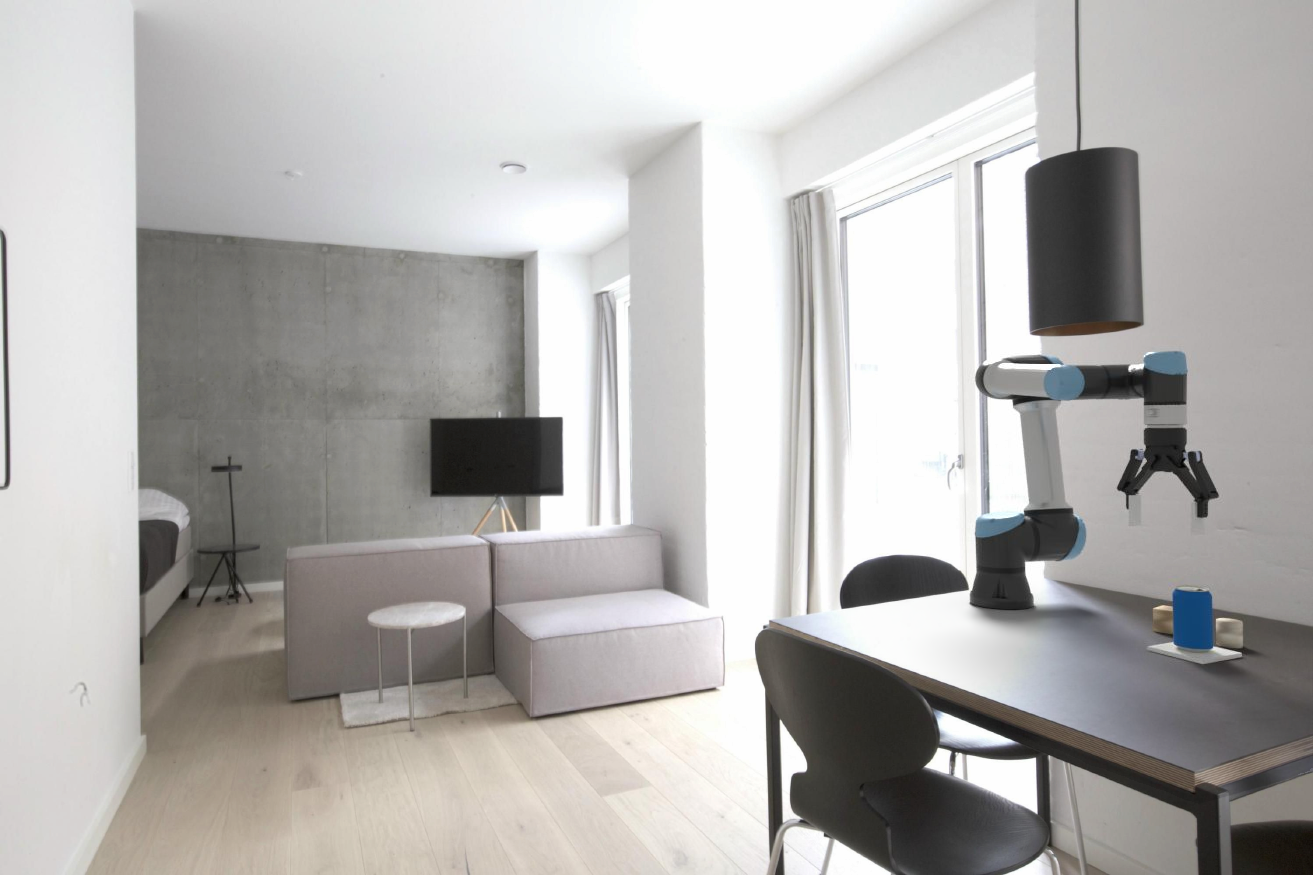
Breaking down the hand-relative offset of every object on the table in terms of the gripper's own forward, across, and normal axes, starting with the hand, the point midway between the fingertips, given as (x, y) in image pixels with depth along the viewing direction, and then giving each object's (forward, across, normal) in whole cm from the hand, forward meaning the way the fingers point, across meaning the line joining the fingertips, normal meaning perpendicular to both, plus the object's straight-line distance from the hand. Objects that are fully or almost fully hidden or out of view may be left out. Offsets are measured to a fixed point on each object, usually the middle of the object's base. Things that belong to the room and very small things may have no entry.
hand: (1165, 529), depth 166 cm
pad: (+23, +9, -4) cm, 25 cm away
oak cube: (+24, -5, +9) cm, 26 cm away
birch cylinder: (+23, +8, +8) cm, 26 cm away
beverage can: (+22, +9, -4) cm, 24 cm away
